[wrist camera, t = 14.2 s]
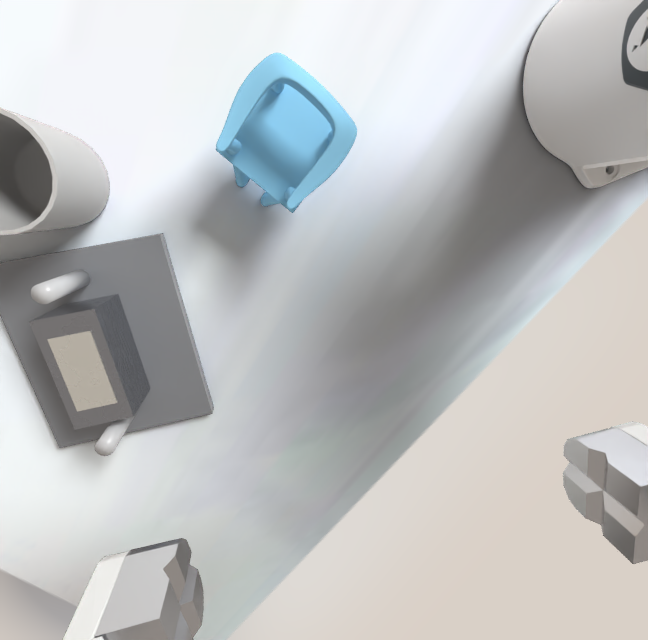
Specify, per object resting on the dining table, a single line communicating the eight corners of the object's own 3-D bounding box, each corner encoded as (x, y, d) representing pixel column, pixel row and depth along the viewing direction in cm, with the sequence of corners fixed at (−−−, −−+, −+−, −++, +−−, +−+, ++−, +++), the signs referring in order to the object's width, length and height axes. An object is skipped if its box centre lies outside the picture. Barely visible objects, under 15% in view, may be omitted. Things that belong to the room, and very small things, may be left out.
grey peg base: (163, 233, 33) (137, 240, 26) (213, 407, 38) (203, 451, 32) (-11, 264, 32) (-86, 281, 25) (65, 440, 37) (21, 494, 30)
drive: (118, 293, 33) (93, 309, 28) (150, 388, 36) (133, 417, 31) (63, 304, 32) (28, 322, 28) (100, 399, 35) (74, 430, 30)
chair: (212, 164, 32) (183, 145, 21) (273, 78, 31) (277, 9, 20) (286, 224, 35) (296, 236, 23) (345, 146, 33) (387, 118, 22)
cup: (70, 245, 32) (2, 260, 24) (-43, 145, 29) (-167, 121, 21) (132, 185, 32) (84, 178, 23) (23, 76, 29) (-77, 23, 20)
